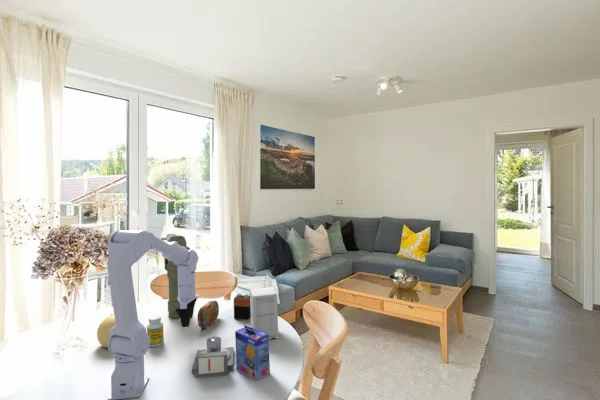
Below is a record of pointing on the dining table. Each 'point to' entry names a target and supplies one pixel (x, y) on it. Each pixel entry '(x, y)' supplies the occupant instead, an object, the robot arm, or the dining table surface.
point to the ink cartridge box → (252, 352)
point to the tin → (208, 314)
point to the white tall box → (264, 311)
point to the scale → (213, 362)
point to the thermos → (173, 279)
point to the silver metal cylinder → (214, 344)
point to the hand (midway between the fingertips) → (187, 322)
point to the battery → (242, 307)
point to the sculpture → (105, 330)
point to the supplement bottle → (155, 331)
